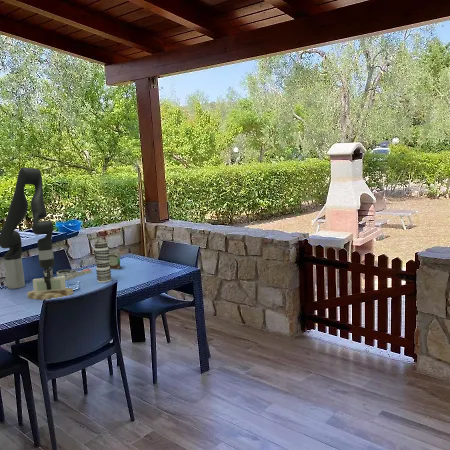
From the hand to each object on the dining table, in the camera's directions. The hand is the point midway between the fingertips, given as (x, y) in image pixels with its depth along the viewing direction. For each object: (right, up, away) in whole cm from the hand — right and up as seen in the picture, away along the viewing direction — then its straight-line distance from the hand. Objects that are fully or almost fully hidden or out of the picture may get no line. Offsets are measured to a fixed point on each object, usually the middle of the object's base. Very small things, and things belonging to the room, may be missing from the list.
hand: (49, 288), depth 247 cm
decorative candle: (+23, +1, +26) cm, 35 cm away
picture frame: (0, -1, 0) cm, 1 cm away
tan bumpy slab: (0, -4, +1) cm, 4 cm away
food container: (+23, +6, +55) cm, 60 cm away
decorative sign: (-3, +2, +44) cm, 44 cm away
